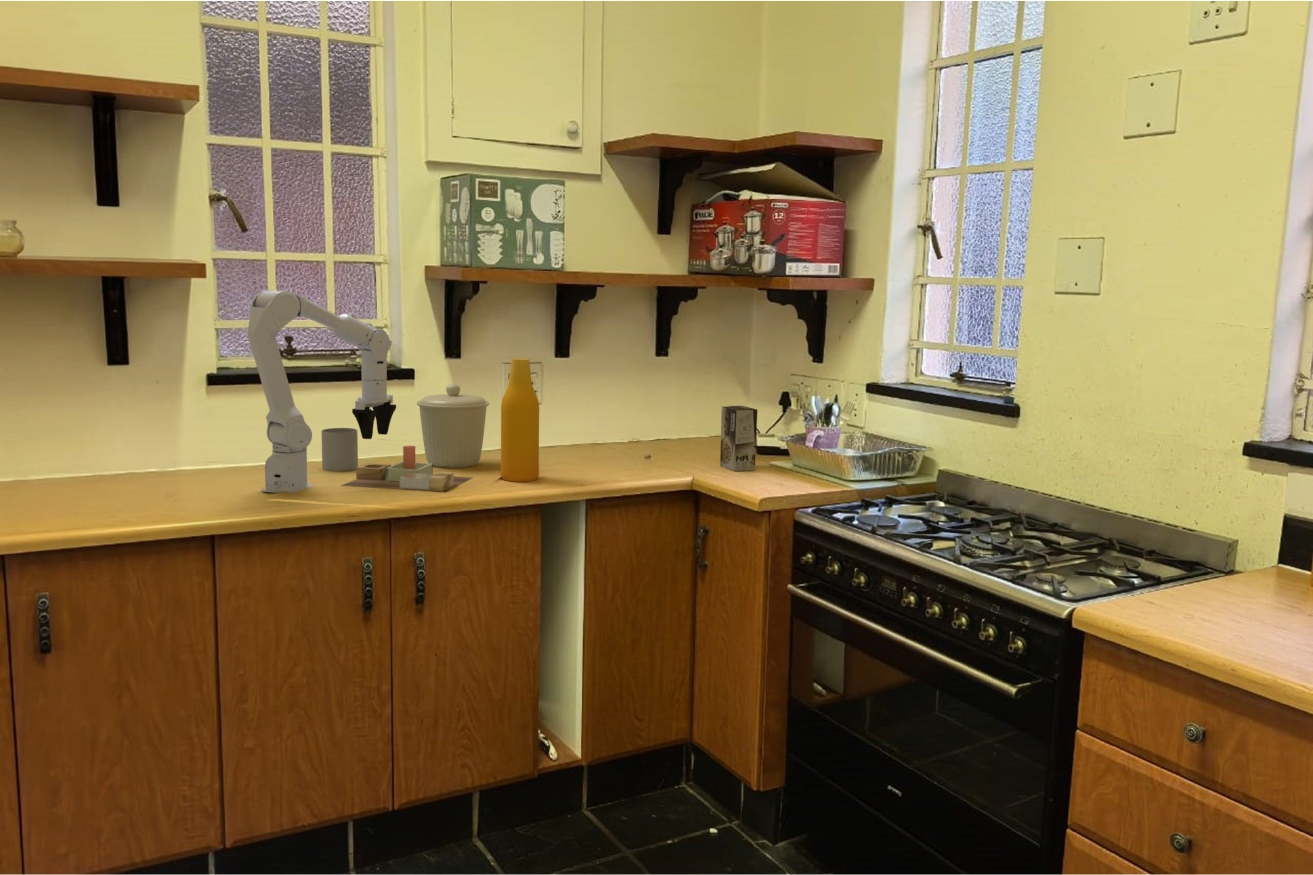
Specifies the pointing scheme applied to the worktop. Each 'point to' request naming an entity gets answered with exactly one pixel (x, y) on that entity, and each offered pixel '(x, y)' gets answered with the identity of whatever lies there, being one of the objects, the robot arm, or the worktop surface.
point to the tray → (407, 470)
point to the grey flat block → (416, 481)
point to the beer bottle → (520, 426)
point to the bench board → (377, 479)
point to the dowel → (409, 457)
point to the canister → (453, 428)
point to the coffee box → (738, 438)
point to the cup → (339, 449)
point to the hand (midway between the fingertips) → (375, 436)
